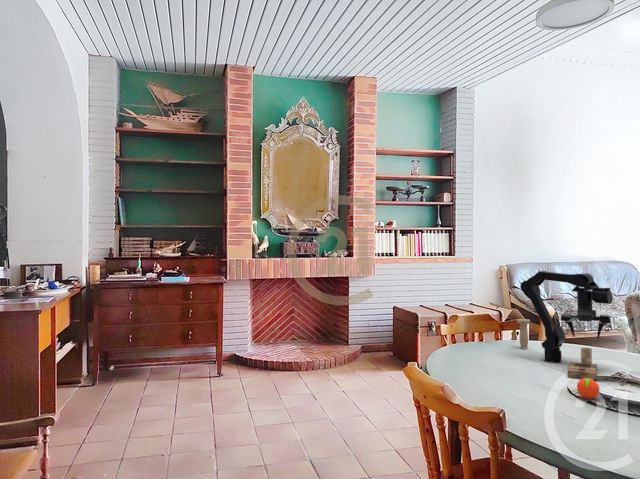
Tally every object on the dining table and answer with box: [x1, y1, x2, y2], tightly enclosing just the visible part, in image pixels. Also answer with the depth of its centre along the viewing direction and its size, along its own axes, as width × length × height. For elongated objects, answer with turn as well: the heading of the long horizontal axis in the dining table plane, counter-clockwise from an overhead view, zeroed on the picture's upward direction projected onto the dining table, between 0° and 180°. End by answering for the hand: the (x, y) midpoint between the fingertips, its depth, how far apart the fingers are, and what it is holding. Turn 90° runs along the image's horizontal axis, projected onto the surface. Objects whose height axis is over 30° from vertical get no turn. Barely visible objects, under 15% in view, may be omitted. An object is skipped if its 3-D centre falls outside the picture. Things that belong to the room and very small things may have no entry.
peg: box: [580, 346, 593, 364], centre depth 206 cm, size 4×4×8 cm
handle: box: [516, 318, 531, 349], centre depth 242 cm, size 5×6×15 cm
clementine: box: [576, 378, 600, 399], centre depth 165 cm, size 8×7×7 cm
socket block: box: [567, 361, 598, 381], centre depth 194 cm, size 10×15×3 cm, turn 148°
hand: (585, 337), depth 206 cm, fingers open, 9 cm apart
